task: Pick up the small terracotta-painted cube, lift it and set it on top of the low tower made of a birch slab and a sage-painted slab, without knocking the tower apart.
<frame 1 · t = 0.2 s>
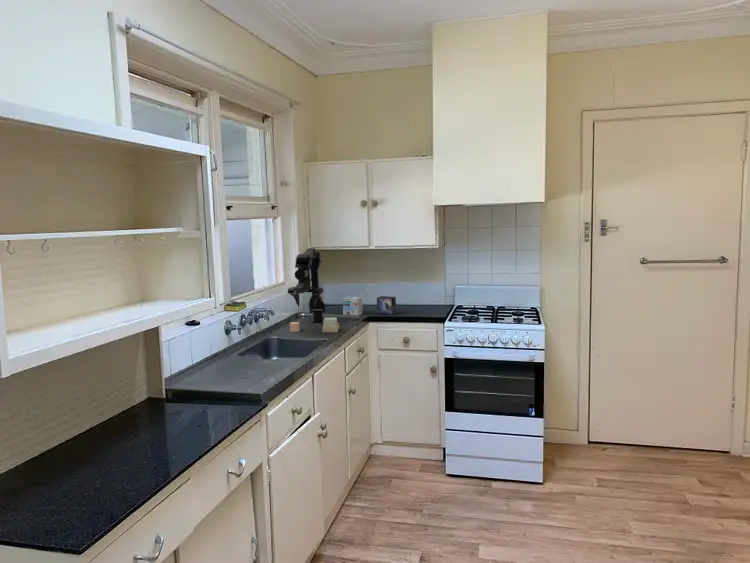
hand: (306, 306, 303), 14 cm above the worktop, fingers open, 9 cm apart
terracotta cube: (295, 331, 309), on the worktop
light bulb box: (352, 314, 351), on the worktop
tower base: (331, 331, 307), on the worktop, touching tower top
small box: (386, 314, 349), on the worktop
tower top: (330, 325, 306), point 3 cm above the worktop, touching tower base
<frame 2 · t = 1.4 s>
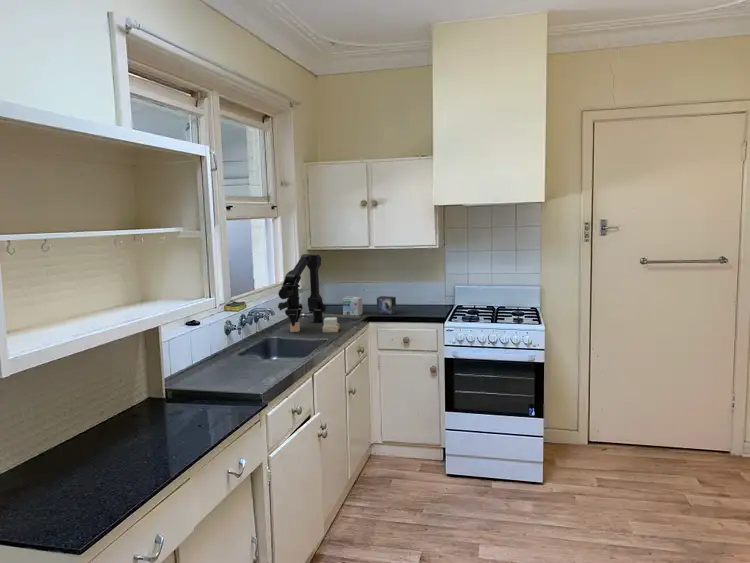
hand: (294, 324, 308), 4 cm above the worktop, fingers open, 9 cm apart
nothing on the worktop moved.
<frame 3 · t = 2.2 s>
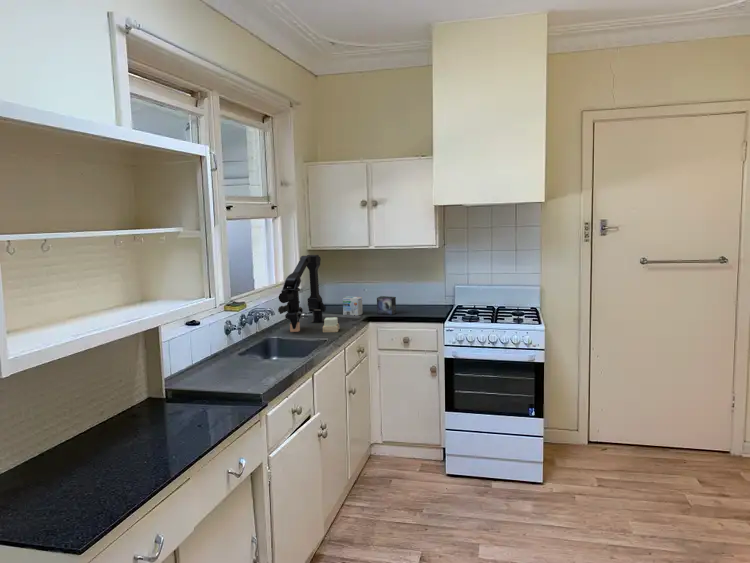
hand: (294, 328, 308), 2 cm above the worktop, fingers closed on terracotta cube, 4 cm apart
terracotta cube: (295, 330, 309), on the worktop, touching gripper
everything else where it was.
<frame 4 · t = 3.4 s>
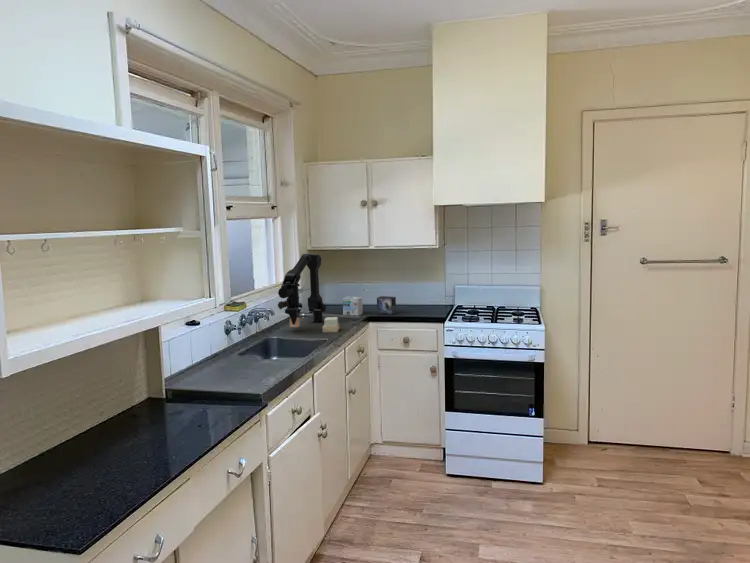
hand: (294, 323, 308), 4 cm above the worktop, fingers closed on terracotta cube, 4 cm apart
terracotta cube: (294, 326, 308), point 3 cm above the worktop, touching gripper
everything else where it was.
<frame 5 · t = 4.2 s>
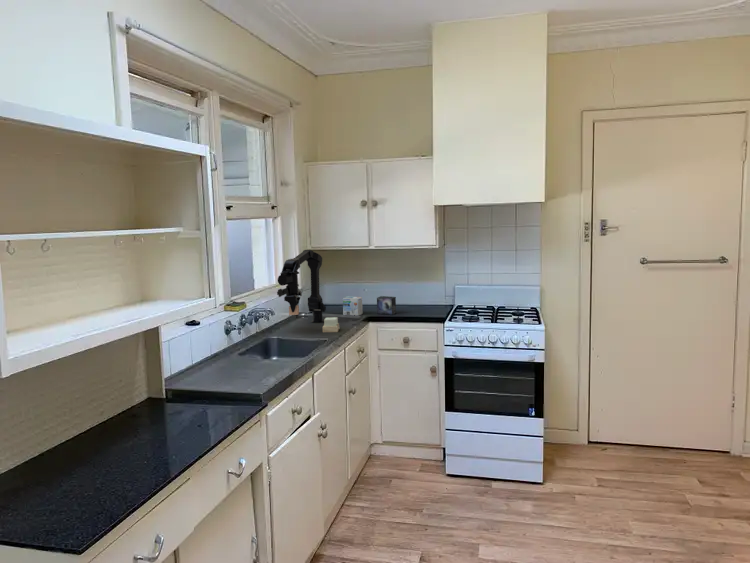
hand: (294, 311, 307), 11 cm above the worktop, fingers closed on terracotta cube, 4 cm apart
terracotta cube: (294, 314, 307), point 9 cm above the worktop, touching gripper
everything else where it was.
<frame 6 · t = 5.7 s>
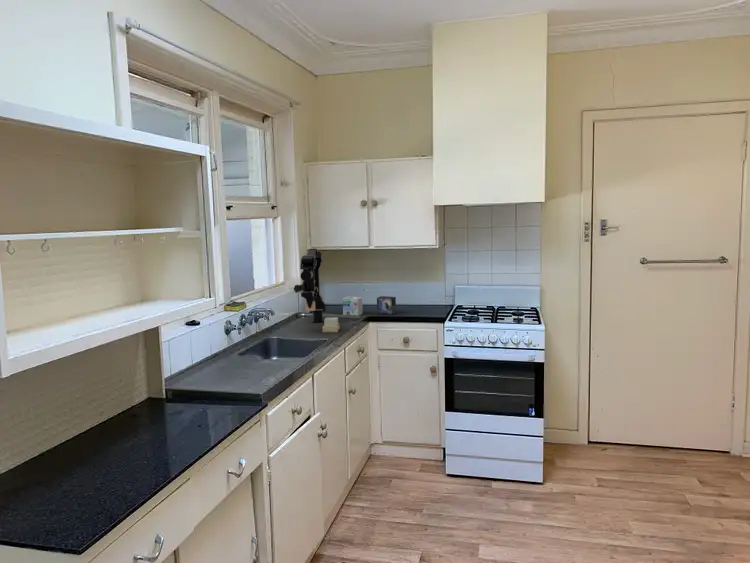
hand: (310, 307, 306), 13 cm above the worktop, fingers closed on terracotta cube, 4 cm apart
terracotta cube: (310, 310, 306), point 11 cm above the worktop, touching gripper
everything else where it was.
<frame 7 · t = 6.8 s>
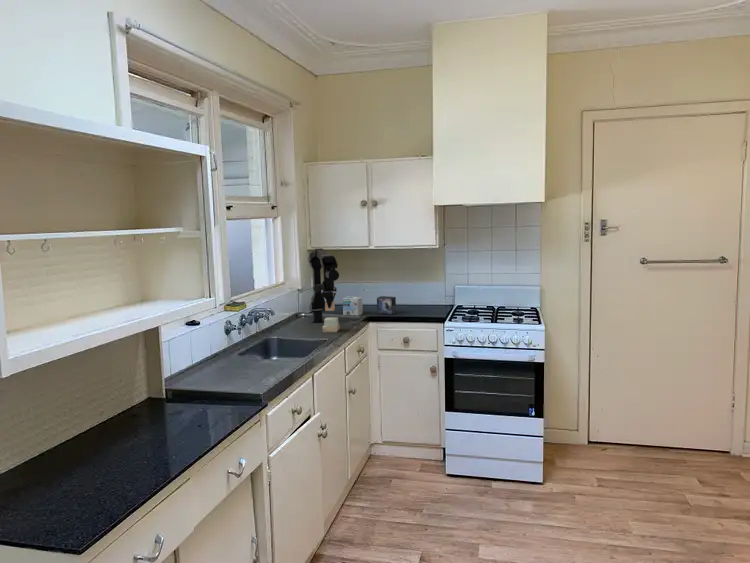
hand: (329, 307, 305), 13 cm above the worktop, fingers closed on terracotta cube, 4 cm apart
terracotta cube: (330, 310, 305), point 11 cm above the worktop, touching gripper
tower base: (331, 331, 307), on the worktop
tower top: (331, 325, 306), point 3 cm above the worktop
everything else where it was.
when the fingers open (9 cm above the worktop, at t = 8.2 s): terracotta cube drops 1 cm, resting on tower top.
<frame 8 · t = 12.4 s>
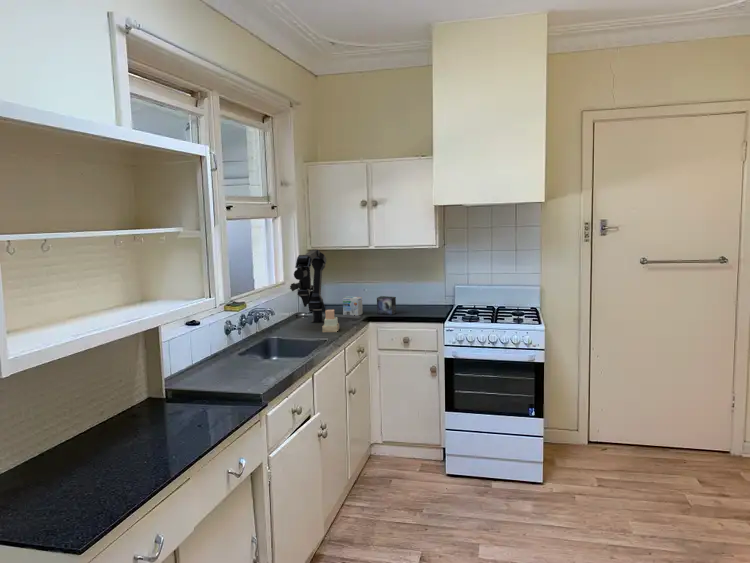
hand: (306, 305, 312), 13 cm above the worktop, fingers open, 9 cm apart
terracotta cube: (330, 318, 306), point 7 cm above the worktop, touching tower top
tower base: (331, 331, 307), on the worktop, touching tower top
tower top: (331, 324, 306), point 3 cm above the worktop, touching terracotta cube, tower base
everything else where it was.
at the end: terracotta cube 0.4 cm off-centre on the tower top, point 3.5 cm above the tower top's base; tower top 0.2 cm off-centre on the tower base, point 3.5 cm above the tower base's base; terracotta cube tilted 0° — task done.
